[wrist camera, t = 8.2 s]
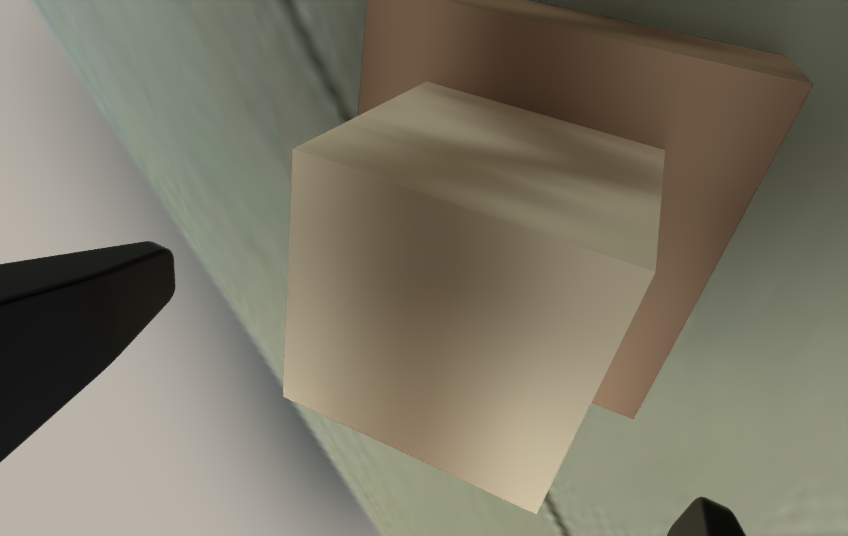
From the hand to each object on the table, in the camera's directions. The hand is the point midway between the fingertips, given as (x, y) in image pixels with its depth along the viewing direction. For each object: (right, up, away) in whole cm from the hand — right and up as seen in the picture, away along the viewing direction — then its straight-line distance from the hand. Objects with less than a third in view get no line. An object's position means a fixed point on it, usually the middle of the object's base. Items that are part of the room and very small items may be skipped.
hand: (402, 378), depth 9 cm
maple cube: (+3, +3, +6) cm, 7 cm away
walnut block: (+4, +5, +9) cm, 12 cm away
